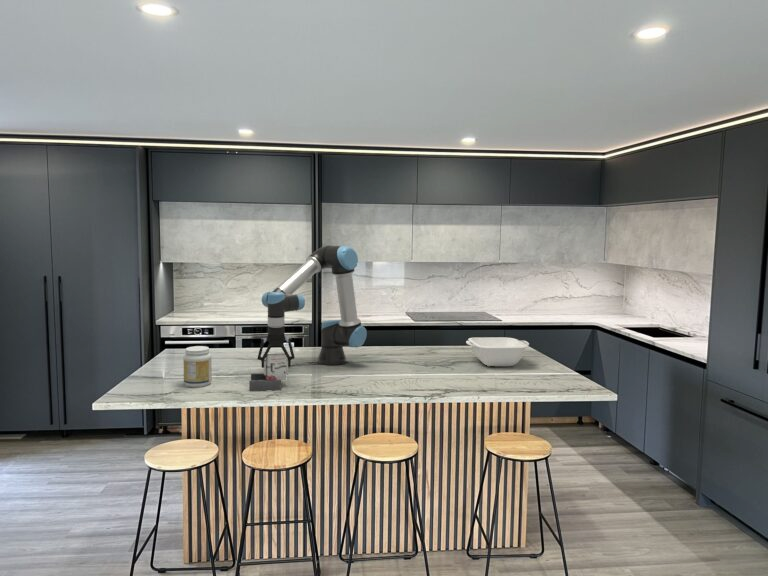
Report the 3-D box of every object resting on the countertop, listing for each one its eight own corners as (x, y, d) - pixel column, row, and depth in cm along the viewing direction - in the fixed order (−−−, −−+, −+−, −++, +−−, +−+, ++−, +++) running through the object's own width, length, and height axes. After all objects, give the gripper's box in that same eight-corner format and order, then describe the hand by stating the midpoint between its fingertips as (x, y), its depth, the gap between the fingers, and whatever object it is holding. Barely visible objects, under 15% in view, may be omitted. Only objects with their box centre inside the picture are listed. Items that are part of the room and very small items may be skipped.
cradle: (281, 381, 271) (281, 372, 271) (281, 390, 257) (281, 380, 257) (251, 382, 269) (251, 373, 268) (249, 391, 255) (249, 381, 255)
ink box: (268, 382, 259) (268, 356, 258) (265, 379, 264) (265, 354, 262) (287, 380, 263) (287, 354, 262) (283, 377, 268) (283, 352, 267)
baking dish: (473, 370, 300) (473, 346, 299) (460, 358, 328) (460, 336, 327) (535, 370, 304) (537, 346, 302) (517, 358, 332) (518, 336, 331)
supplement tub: (189, 380, 271) (189, 345, 269) (215, 381, 271) (214, 345, 269) (179, 387, 259) (179, 350, 257) (206, 388, 258) (206, 351, 257)
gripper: (300, 324, 267) (300, 371, 269) (251, 324, 263) (252, 372, 265) (300, 327, 259) (300, 375, 262) (250, 327, 255) (251, 377, 258)
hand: (276, 374), depth 263 cm, fingers closed on ink box, 9 cm apart
